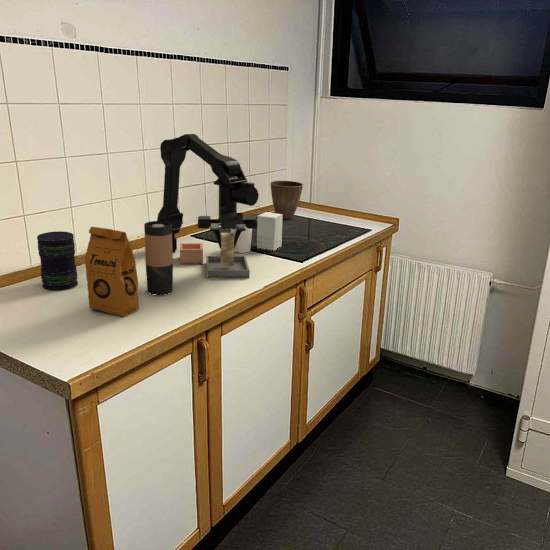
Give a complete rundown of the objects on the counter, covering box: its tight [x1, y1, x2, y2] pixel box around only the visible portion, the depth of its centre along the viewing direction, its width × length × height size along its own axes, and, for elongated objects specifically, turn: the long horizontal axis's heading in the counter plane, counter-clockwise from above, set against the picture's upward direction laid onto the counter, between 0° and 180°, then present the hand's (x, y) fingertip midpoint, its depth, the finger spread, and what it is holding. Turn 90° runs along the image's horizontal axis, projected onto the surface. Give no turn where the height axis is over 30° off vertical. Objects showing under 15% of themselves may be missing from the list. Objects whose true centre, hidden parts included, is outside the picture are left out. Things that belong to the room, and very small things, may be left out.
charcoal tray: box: [205, 255, 251, 279], centre depth 175 cm, size 13×15×2 cm
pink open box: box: [179, 242, 204, 265], centre depth 182 cm, size 8×8×5 cm
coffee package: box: [84, 226, 140, 318], centre depth 138 cm, size 10×12×22 cm
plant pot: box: [269, 180, 304, 220], centre depth 246 cm, size 15×15×16 cm
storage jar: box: [36, 230, 79, 292], centre depth 154 cm, size 10×10×15 cm
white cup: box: [230, 226, 253, 254], centre depth 195 cm, size 8×8×10 cm
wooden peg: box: [220, 232, 235, 266], centre depth 173 cm, size 4×4×10 cm
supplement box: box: [256, 211, 283, 252], centre depth 200 cm, size 7×7×13 cm
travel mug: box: [143, 220, 174, 296], centre depth 152 cm, size 8×8×20 cm
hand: (227, 248), depth 173 cm, fingers closed on wooden peg, 4 cm apart
